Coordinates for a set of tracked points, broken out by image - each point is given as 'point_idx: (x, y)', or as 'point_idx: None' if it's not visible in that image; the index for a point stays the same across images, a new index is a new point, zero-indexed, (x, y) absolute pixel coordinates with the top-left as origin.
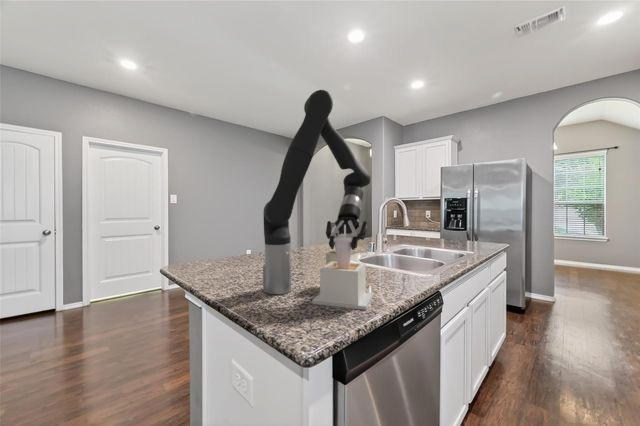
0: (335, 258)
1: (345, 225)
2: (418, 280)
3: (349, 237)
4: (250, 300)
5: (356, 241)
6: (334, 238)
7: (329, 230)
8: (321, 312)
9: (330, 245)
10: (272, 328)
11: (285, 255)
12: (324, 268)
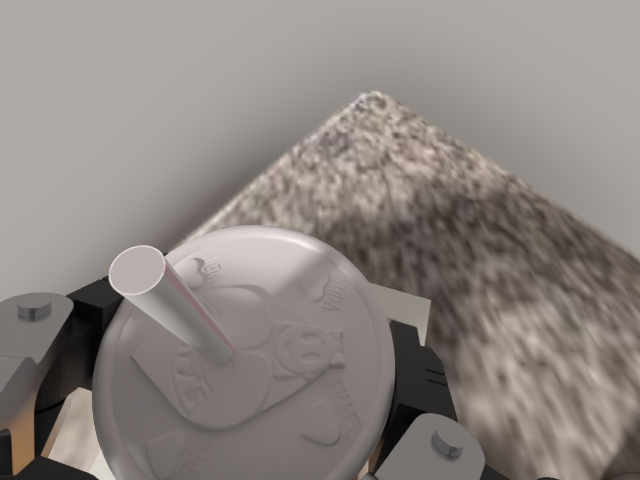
0: None
1: (130, 264)
2: None
3: (144, 366)
4: None
5: (96, 281)
6: (379, 316)
7: None
8: (369, 265)
9: (409, 327)
10: (476, 170)
11: None
12: (404, 309)
